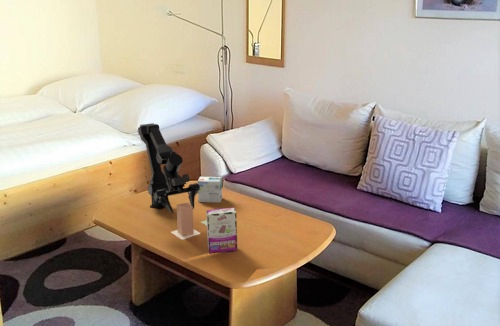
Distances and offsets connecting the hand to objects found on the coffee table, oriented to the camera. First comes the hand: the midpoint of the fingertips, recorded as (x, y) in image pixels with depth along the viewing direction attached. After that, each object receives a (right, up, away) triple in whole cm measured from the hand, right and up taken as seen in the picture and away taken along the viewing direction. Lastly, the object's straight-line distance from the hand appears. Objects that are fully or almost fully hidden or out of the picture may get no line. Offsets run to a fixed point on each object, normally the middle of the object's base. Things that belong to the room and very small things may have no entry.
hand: (183, 210), depth 223 cm
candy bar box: (+17, -14, -11) cm, 24 cm away
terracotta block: (+1, -9, +1) cm, 9 cm away
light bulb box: (+9, +2, +36) cm, 37 cm away
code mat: (+7, -8, +6) cm, 12 cm away
